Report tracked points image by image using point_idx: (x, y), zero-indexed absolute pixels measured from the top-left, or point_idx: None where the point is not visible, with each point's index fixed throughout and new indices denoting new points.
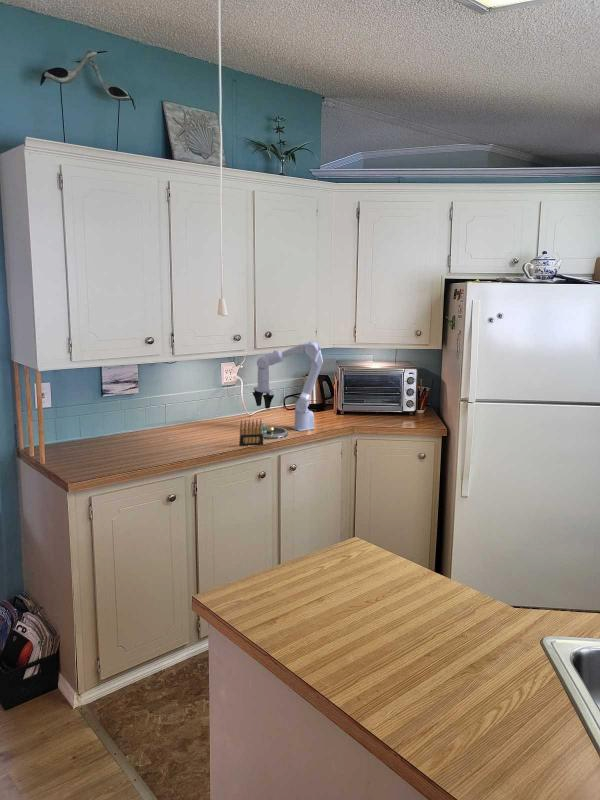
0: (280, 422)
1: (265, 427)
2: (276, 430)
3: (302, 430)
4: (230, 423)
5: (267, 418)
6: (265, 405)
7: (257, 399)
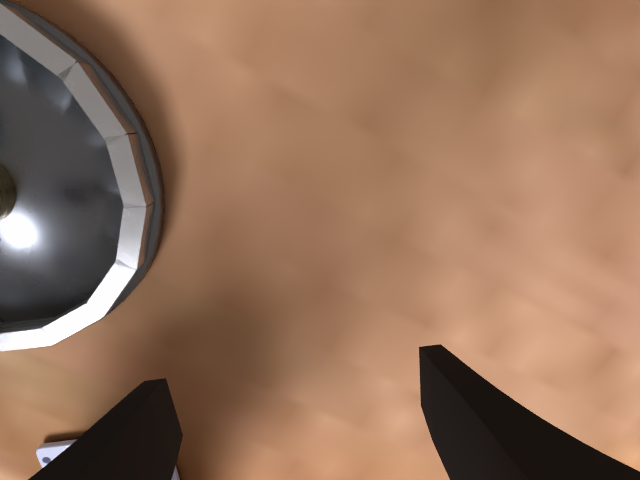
0: (384, 442)
1: (122, 217)
2: (68, 287)
3: (43, 462)
4: (617, 41)
5: (555, 418)
6: (108, 416)
7: (482, 453)
